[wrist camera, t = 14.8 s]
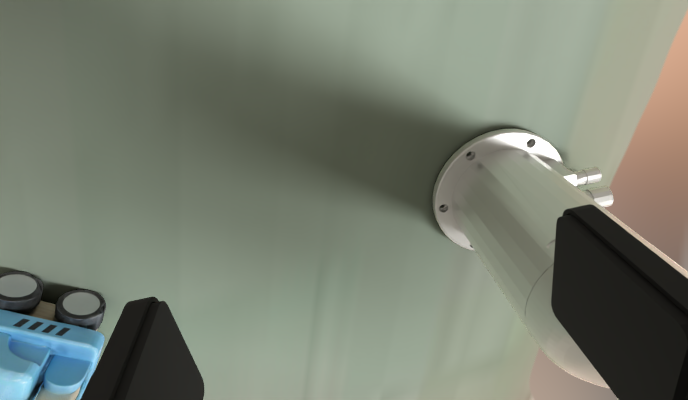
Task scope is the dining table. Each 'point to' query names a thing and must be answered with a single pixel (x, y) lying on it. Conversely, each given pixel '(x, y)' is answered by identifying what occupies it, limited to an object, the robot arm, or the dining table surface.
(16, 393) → the toy excavator
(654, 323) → the robot arm
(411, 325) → the dining table surface
